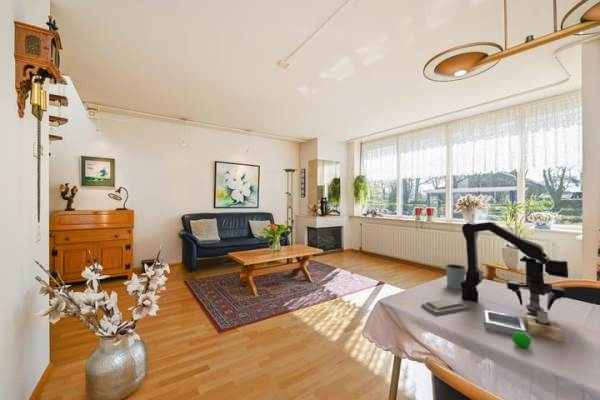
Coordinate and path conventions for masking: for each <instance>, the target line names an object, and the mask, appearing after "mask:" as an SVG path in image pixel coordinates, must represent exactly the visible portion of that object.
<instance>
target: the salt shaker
mask: <svg viewBox="0 0 600 400" xmlns="http://www.w3.org/2000/svg"><path fill="white" fill-rule="evenodd" d="M529 295H530V296H529V298H528V299H529V304H526V305H525V307H526V310H527V311H528V312H527V313H526V315H530V316H535V317H537V310H541V311H545V309H544V307H541V306H540V302H541V299H540V295H539V294H532V293H530V292H529Z"/></svg>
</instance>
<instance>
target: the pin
mask: <svg viewBox="0 0 600 400" xmlns="http://www.w3.org/2000/svg"><path fill="white" fill-rule="evenodd" d="M548 319H549V312H547V311H545V310H544V311H541V310H537V323H538V324H543V325H548Z"/></svg>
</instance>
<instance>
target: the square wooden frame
mask: <svg viewBox="0 0 600 400" xmlns="http://www.w3.org/2000/svg"><path fill="white" fill-rule="evenodd" d="M524 317H525V318H524V319H525V321H524V322H525V323H524V324H525V328H526V329H527V330H526V331H527V333H528V334H529V335H531V336H535V337H540V338H543V339H549V340H552V341H553V340H554V341H557V342H561V343H562V342H563V329H562V328H561V327H560V324H559V323H558V321H557V320H555V319H549V318H548V325H543V324H538V323H537V317H535V316H530V315H527V314H525V316H524Z"/></svg>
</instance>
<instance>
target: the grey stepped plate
mask: <svg viewBox="0 0 600 400" xmlns="http://www.w3.org/2000/svg"><path fill="white" fill-rule="evenodd" d="M421 307H422V309H425V310H427V312H430V313H432V314H433V315H435V316H438V317H439V316H443V315H449V314H454V313H461V312H465V311H471V310H472V307H471V306H470V305H469V304H466V303H464V302H462V301H460V300H458V299H456V298H449V299H448V298H447V299H446V298H445V299H438V300H432V301H426V302H423V303H421Z"/></svg>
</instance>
